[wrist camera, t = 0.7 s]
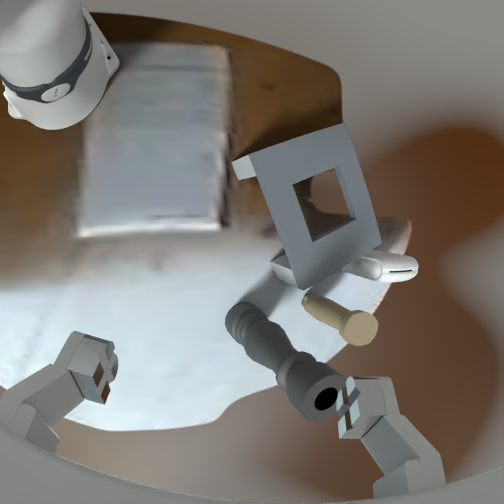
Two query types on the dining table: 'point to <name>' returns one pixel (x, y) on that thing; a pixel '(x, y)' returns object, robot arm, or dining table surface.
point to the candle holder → (286, 362)
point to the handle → (342, 319)
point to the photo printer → (383, 266)
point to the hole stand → (290, 214)
